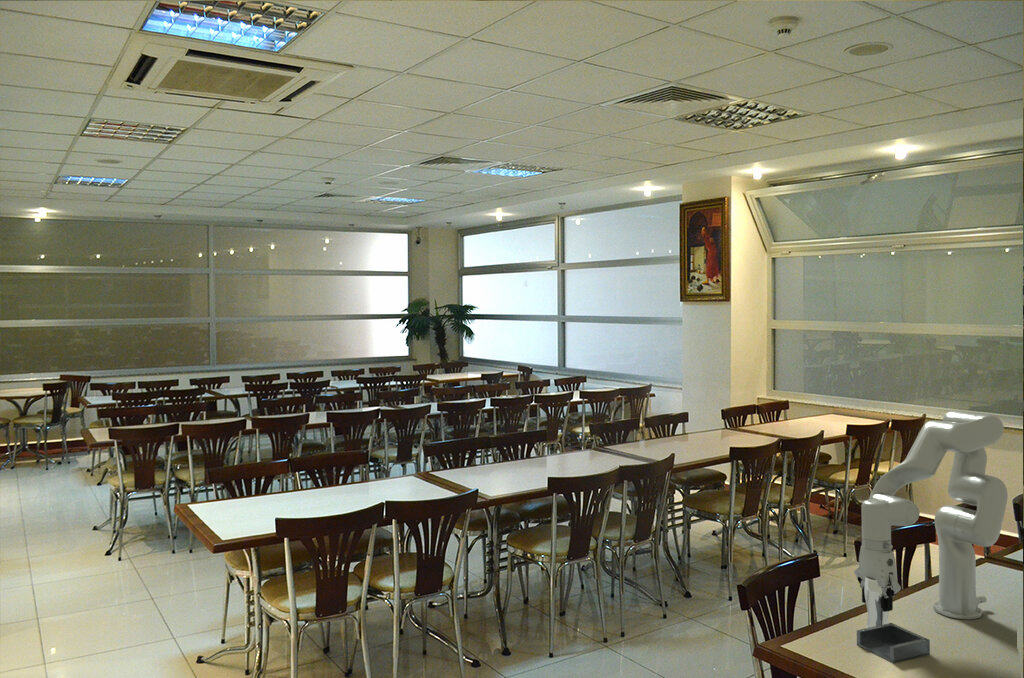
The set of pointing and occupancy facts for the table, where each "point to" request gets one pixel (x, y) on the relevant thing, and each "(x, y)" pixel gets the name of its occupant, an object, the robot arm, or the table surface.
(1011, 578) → the table surface
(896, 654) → the grey tray
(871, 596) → the beer glass
